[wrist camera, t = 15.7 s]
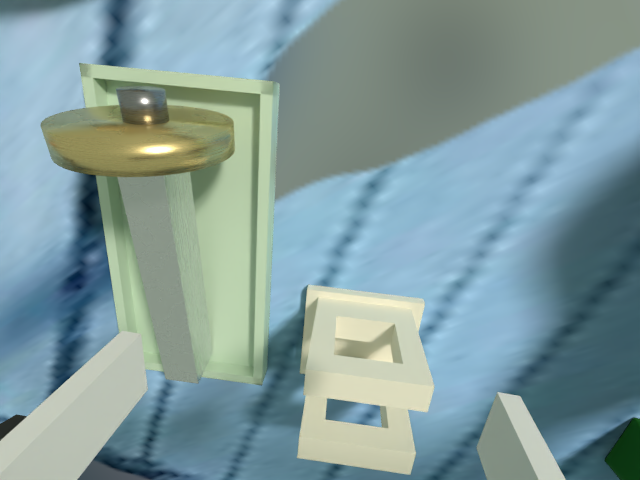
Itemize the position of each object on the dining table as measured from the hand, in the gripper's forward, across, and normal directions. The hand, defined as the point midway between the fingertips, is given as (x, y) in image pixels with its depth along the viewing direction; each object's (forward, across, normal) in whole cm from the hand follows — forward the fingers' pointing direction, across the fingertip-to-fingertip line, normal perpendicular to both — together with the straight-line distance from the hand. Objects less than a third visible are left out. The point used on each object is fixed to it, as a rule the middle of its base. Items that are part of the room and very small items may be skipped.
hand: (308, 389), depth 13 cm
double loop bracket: (+22, +3, -13) cm, 26 cm away
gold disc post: (+22, -15, -3) cm, 27 cm away
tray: (+21, -15, -4) cm, 26 cm away
